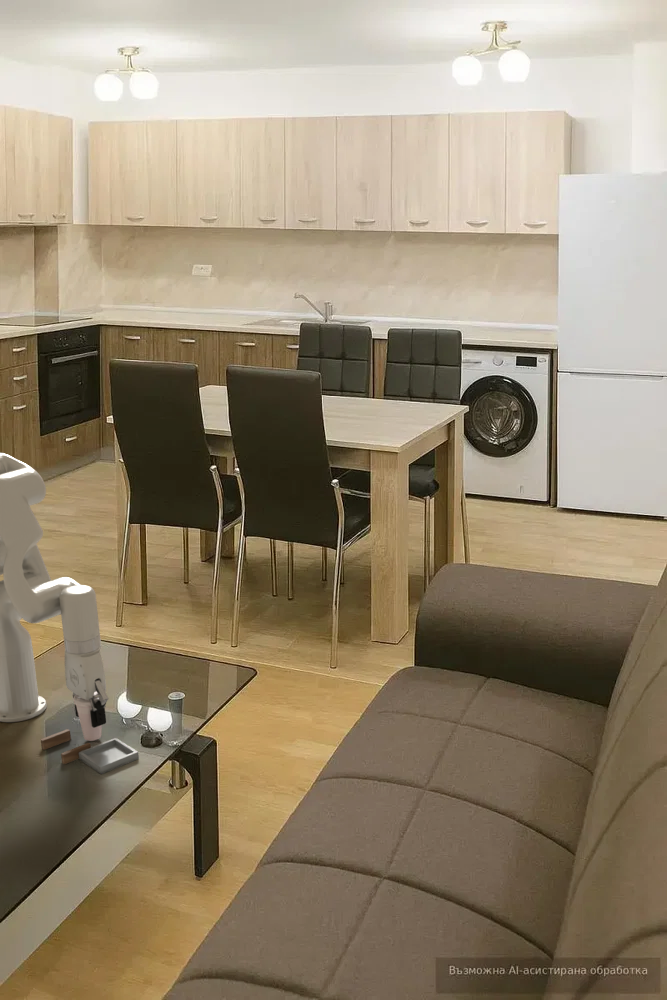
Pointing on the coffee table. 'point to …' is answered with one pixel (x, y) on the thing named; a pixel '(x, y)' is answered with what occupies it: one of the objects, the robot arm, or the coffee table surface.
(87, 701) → the smoothie
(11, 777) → the coffee table surface
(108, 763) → the tray
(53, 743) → the brown parallel rails
